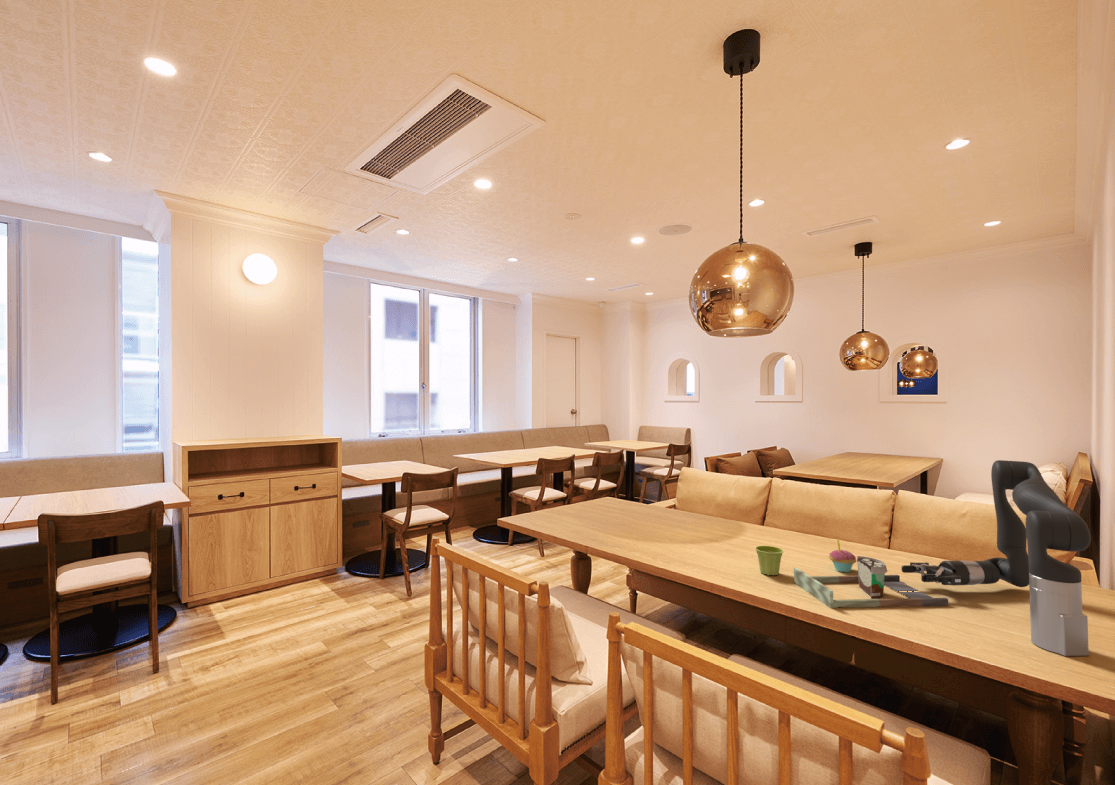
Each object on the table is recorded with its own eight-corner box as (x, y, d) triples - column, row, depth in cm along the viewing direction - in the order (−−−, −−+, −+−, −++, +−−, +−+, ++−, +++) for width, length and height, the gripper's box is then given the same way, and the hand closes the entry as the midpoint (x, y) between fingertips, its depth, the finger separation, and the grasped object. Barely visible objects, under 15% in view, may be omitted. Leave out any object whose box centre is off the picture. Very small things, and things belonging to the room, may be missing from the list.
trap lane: (948, 605, 147) (947, 588, 147) (830, 608, 146) (829, 591, 146) (897, 580, 168) (897, 565, 168) (794, 582, 167) (793, 567, 167)
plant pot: (757, 567, 183) (757, 544, 183) (785, 571, 178) (785, 547, 178) (753, 575, 175) (752, 550, 175) (782, 579, 170) (781, 554, 170)
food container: (895, 601, 151) (894, 568, 151) (873, 600, 152) (872, 567, 152) (877, 587, 163) (877, 556, 163) (857, 585, 164) (856, 555, 164)
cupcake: (842, 575, 174) (841, 540, 174) (823, 567, 182) (823, 534, 183) (862, 572, 176) (861, 539, 177) (842, 565, 184) (841, 533, 185)
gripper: (942, 554, 165) (895, 555, 165) (980, 568, 151) (929, 569, 151) (943, 576, 165) (896, 577, 165) (981, 592, 151) (929, 593, 151)
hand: (912, 573), depth 158 cm, fingers open, 8 cm apart
